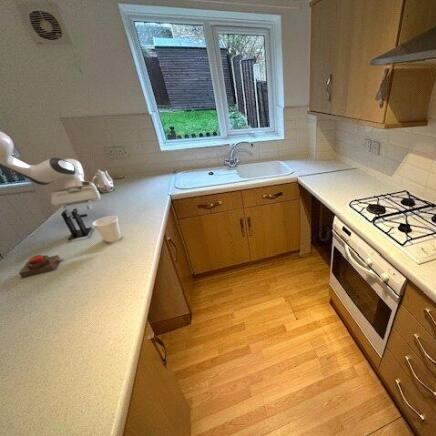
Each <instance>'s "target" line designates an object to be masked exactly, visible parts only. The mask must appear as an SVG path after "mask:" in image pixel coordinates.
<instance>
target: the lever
mask: <svg viewBox="0 0 436 436" xmlns="http://www.w3.org/2000/svg"><path fill="white" fill-rule="evenodd" d="M72 211H73V210H70V211H69V212H66V215H67V217H70V218H71V219H72V220H75V218H74V216H73V214H72ZM79 215H80V217H81V219H83V218H86V217H88V214H87V213H83V214H79Z"/></svg>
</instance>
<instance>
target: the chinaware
mask: <svg viewBox="0 0 436 436" xmlns="http://www.w3.org/2000/svg"><path fill="white" fill-rule="evenodd" d="M95 179H96V180H97V183H95V182H96V181H95ZM91 180H92V181H91V182H92V183H93V184H94V185H95V186H96V187H97V190H98V191H99V193H100V194H105V193H110V192H112V191H114V190H115V189H114V187H115V182H116V180H115V179H113V178H112V177H111V176H110V175H109V173H108V170H105V171H102V170H100V169H97V171H96V172H95V173H94V176H93V177H92V179H91Z"/></svg>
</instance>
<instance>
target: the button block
mask: <svg viewBox="0 0 436 436" xmlns="http://www.w3.org/2000/svg"><path fill="white" fill-rule="evenodd" d="M42 256H43V258H44V260H43V261H41V262H39V263H36V264H31V263H30V261H29V260H27V261H26V262H25V264H24V266H23V267H22V268H21V270H20V271H19V272H18V274H19V275H20V277H21V278H23V279H24V278H26V277H31V276H35V275H40V274H43V273H44V274H45V273H48V272H52V271H55V270H56V268H57V266H58V265H59V263H60V256H59V255H58V254H57V255H52V256H49V255H42Z"/></svg>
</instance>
